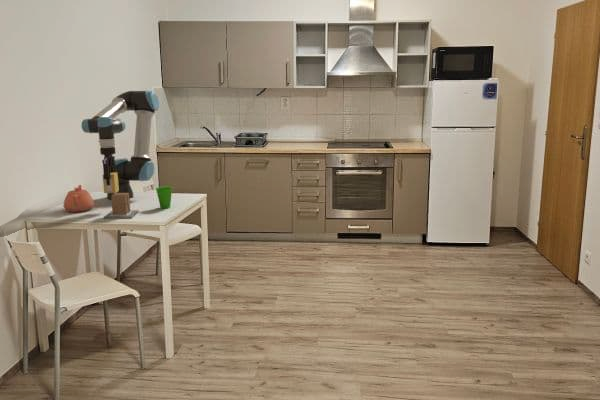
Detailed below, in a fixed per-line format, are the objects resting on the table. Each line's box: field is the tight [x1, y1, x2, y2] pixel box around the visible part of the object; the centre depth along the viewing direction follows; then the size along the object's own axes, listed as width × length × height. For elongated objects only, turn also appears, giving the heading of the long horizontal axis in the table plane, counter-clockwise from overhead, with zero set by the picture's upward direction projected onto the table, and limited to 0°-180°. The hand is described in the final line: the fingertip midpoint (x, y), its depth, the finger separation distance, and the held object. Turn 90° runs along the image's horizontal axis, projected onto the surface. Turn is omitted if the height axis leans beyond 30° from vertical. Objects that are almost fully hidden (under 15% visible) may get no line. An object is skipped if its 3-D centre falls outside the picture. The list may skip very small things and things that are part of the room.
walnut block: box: [111, 193, 131, 215], centre depth 283 cm, size 7×7×10 cm
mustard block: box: [102, 172, 119, 194], centre depth 292 cm, size 6×6×10 cm
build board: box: [103, 209, 140, 220], centre depth 284 cm, size 14×14×1 cm
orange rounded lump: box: [63, 184, 95, 213], centre depth 296 cm, size 22×15×12 cm
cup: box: [155, 186, 173, 210], centre depth 300 cm, size 9×9×11 cm
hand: (111, 189), depth 292 cm, fingers closed on mustard block, 6 cm apart
